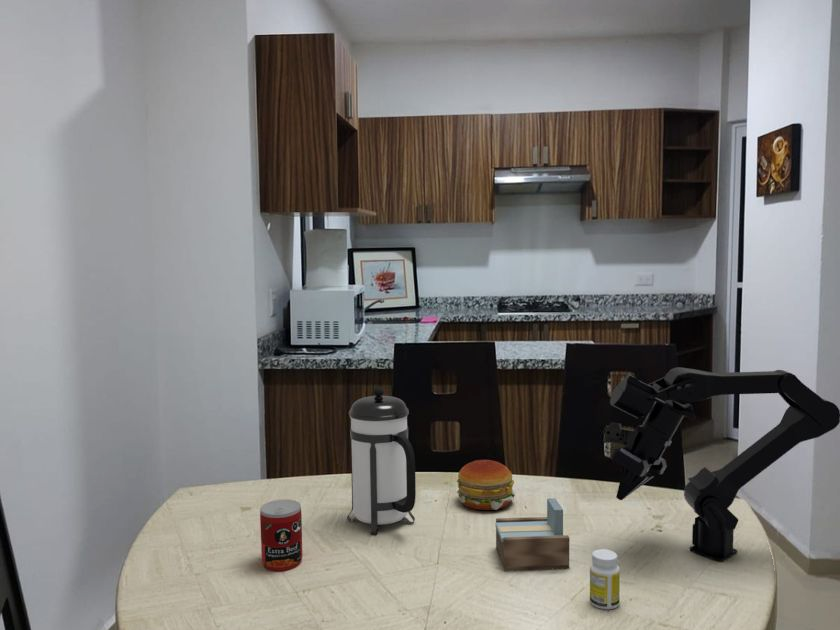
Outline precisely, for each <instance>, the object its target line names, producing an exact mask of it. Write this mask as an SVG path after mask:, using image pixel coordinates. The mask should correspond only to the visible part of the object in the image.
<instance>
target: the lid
mask: <svg viewBox="0 0 840 630" xmlns="http://www.w3.org/2000/svg"><path fill="white" fill-rule="evenodd" d="M546 509H547V510H546V517H547V521H532V522H500V523H496V522H495V530H496V529H497V531H498V534H499V537H500V539H501V542H502V543H503V542H504V537H532V536H563V535H564V509H563V508H562V506H561V505H560V503H559V502H558V500H557V499H556V498H555V497H553V498H551V497H550V498H547V499H546Z"/></svg>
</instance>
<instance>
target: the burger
mask: <svg viewBox="0 0 840 630" xmlns="http://www.w3.org/2000/svg"><path fill="white" fill-rule="evenodd" d="M457 475H458V477H457V478H458V479H457V480H456V483H458V484H457V487H458V490H457V492H456V493H457V494H458V499H459V501H460V502H461V503H462V505H464V506H466V507H468V508H471V509H476V510H484V511H489V510H490V511H492V510H499V509H502V508H505V507H506V506H508V505H509V504H510V502H511V500H514V499H515V496H516V494H515V491H514V489H513V485H514V484H515V481H514V479H513V474H512V471H510V469H509V468H508V467H507V466H506V465H504V464H502V463H501V462H500V461H495V460H490V459H478V460H473V461H471V462H468V463H467V464H465V465H464V466H463V467H461V469H460V470H459V471H458V474H457Z"/></svg>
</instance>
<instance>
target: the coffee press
mask: <svg viewBox="0 0 840 630" xmlns="http://www.w3.org/2000/svg"><path fill="white" fill-rule="evenodd" d="M372 392H373V394H374V395H371V396H370V395H369V396H365V397H362V398H359V399H357V400H356V401H354V403H353V404H352V405H351V408H350V410H349V411H348V415H349V418H350V427H349V430H350V431H349V432H350V433H349V434H350V435H349V436H350V463H351V465H350V466H351V467H350V469H351V511H350V512H349V514H348V515H347V518H346V520H347V521H348V522H350V523H351V522H353V521H355V520H356V519H357V520H358V521H360V522H362V523H365V524H367V525H368V524H369V525H370V529H369V533H370V535H373V536H377V535H378V534H379V527H380V526H381V525H389V524H393V523H397V522H399V521H401V520H403V521H405V522H406V523H407V524H408V525H413V524H414V523H415V521H416V518H415V516H414V515H413V513H412V510H413V509H414V507H415V504H416V483H417V482H416V460H415V459H416V458H415V453H414V448H413V445H412V443H411V441H410V440H409V426H408V415H409V414H410V413H409V411H410V410H409V408H408V407H407V406H406V403H405V402H404V401H403V400H402V399H401V398H398V397H395V396H391V395H390V396H389V395H384V393H385V390H384V388H383V386H382V387H381V386H375V387H374V388H373V390H372ZM352 512H353V515H354V517H353V518H351V517H350V515H351V514H352ZM407 515H409V517H410V518H411V519H412V521H410V520H409V519H408V518H407V517H406V516H407Z"/></svg>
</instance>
